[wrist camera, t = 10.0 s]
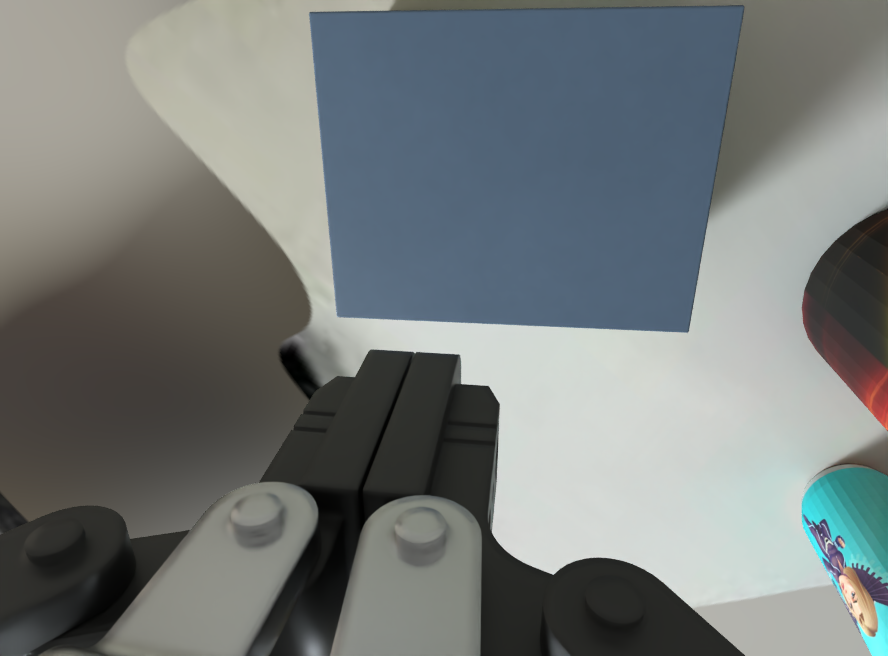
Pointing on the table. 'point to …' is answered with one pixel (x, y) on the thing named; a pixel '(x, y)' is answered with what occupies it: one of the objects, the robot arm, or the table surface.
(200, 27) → the table surface
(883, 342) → the mug
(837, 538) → the beverage can
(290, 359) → the table surface
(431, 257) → the box lid
